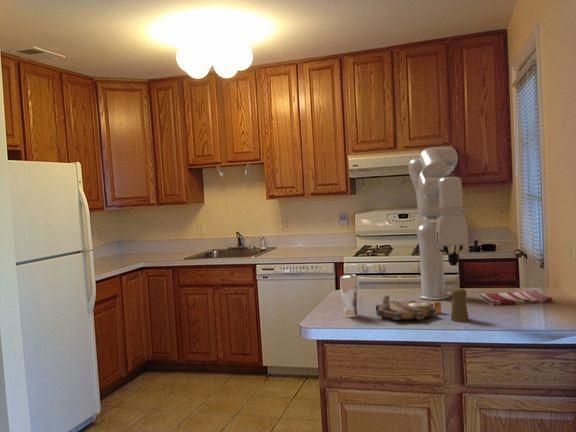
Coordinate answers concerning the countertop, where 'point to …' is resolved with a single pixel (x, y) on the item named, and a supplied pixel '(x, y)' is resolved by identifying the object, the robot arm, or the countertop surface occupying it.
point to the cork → (459, 305)
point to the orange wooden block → (436, 305)
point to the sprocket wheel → (404, 309)
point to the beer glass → (350, 295)
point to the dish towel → (514, 298)
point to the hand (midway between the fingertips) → (453, 265)
